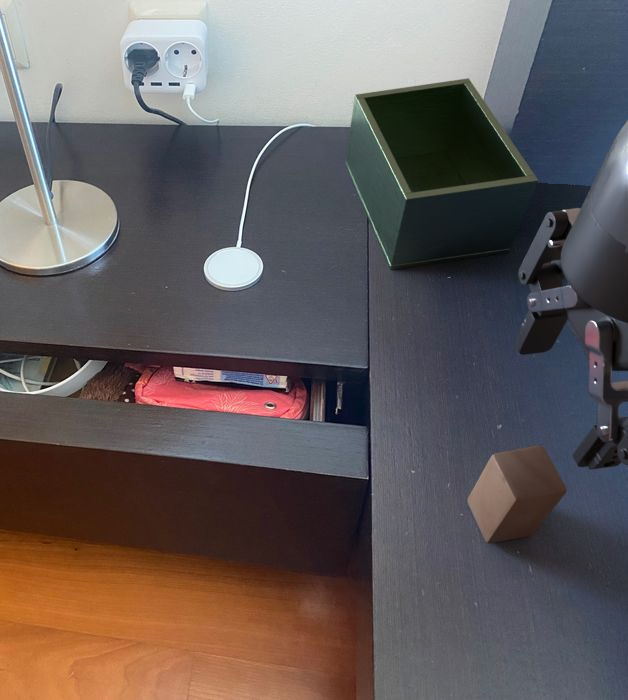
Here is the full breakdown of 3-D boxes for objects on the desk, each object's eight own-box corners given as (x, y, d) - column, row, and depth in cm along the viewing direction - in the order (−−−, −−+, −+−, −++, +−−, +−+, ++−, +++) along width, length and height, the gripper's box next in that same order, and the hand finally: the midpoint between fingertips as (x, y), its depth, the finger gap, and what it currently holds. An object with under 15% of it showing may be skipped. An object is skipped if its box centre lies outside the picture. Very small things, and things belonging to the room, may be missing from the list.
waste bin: (508, 252, 75) (538, 180, 68) (389, 270, 75) (406, 199, 68) (449, 150, 86) (468, 77, 79) (345, 165, 86) (354, 94, 79)
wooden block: (485, 546, 57) (515, 500, 50) (464, 500, 59) (490, 452, 53) (534, 536, 57) (570, 490, 51) (511, 491, 59) (543, 442, 53)
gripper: (874, 310, 28) (678, 495, 41) (679, 105, 37) (568, 310, 50) (684, 335, 29) (548, 512, 41) (535, 124, 37) (460, 324, 50)
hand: (559, 401), depth 46 cm, fingers open, 8 cm apart
